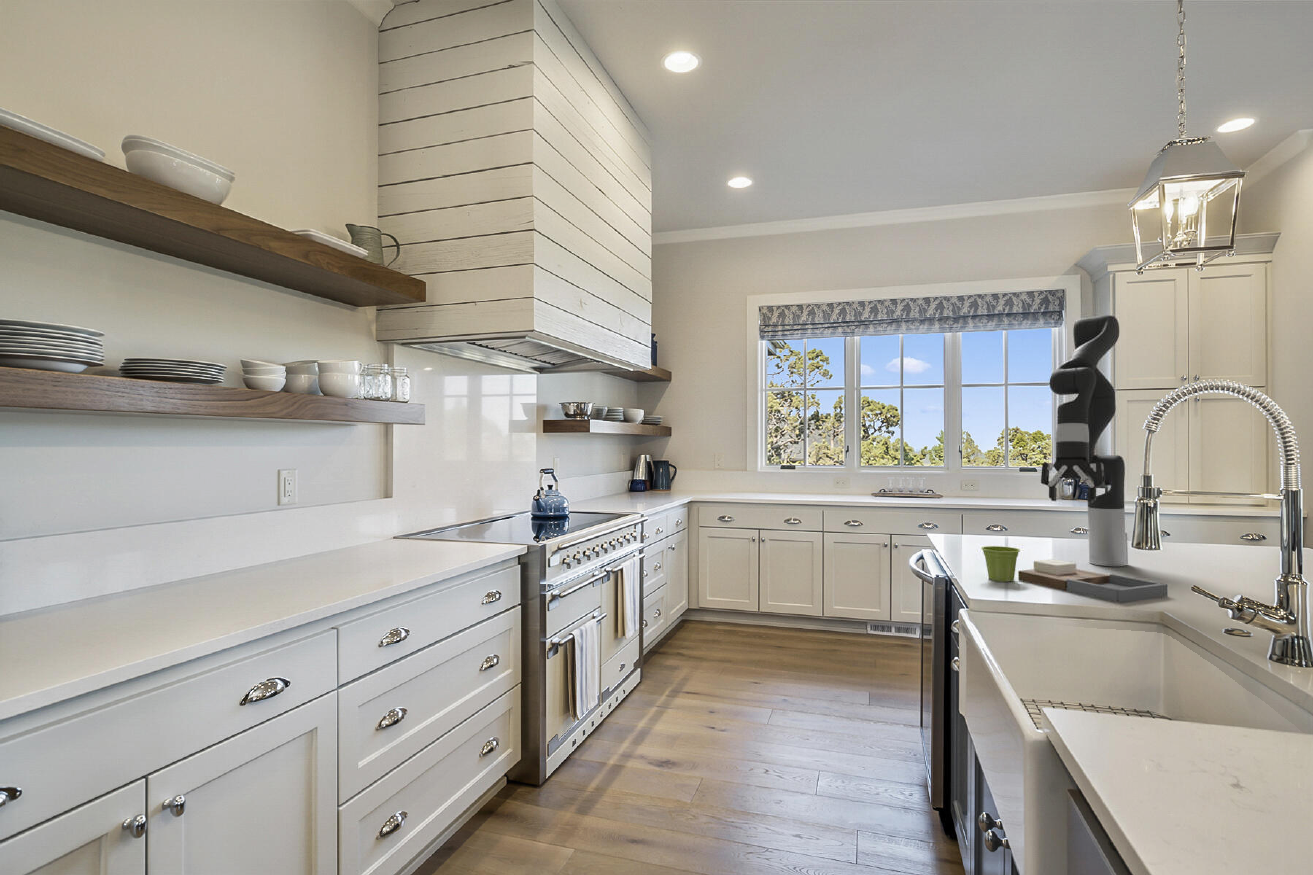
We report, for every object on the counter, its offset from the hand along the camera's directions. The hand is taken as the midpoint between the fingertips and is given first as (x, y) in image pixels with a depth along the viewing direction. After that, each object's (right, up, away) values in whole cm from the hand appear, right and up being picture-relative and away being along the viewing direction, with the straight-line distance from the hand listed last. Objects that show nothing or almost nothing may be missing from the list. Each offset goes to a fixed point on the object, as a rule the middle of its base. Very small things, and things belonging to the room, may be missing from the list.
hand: (1071, 501), depth 173 cm
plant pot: (-16, -22, +6) cm, 28 cm away
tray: (+3, -22, -12) cm, 25 cm away
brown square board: (-2, -22, +1) cm, 22 cm away
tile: (-2, -19, +3) cm, 20 cm away
